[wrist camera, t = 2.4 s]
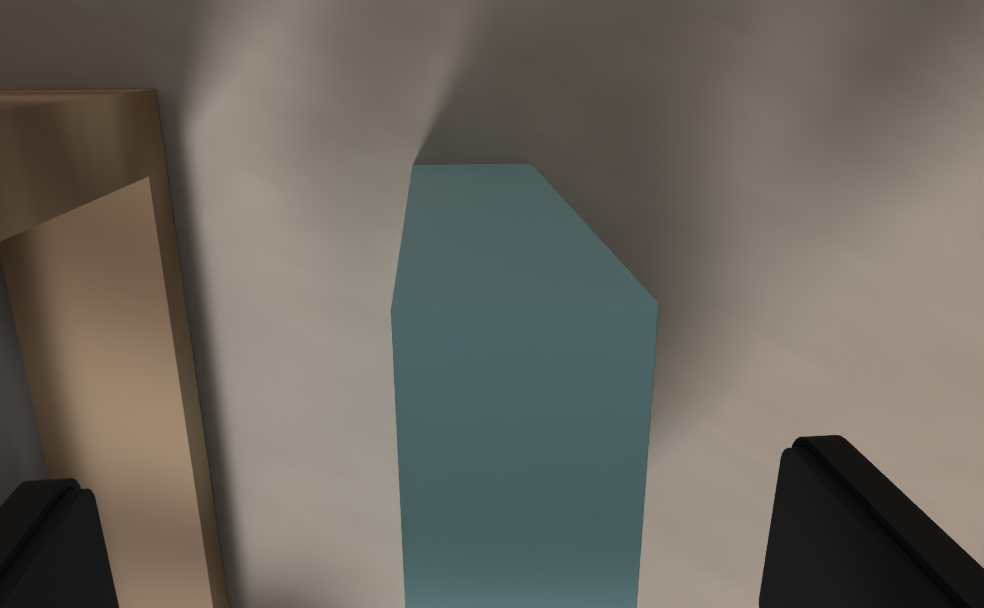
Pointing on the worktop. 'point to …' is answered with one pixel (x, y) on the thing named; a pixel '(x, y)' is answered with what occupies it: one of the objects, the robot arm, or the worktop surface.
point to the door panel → (517, 397)
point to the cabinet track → (103, 337)
